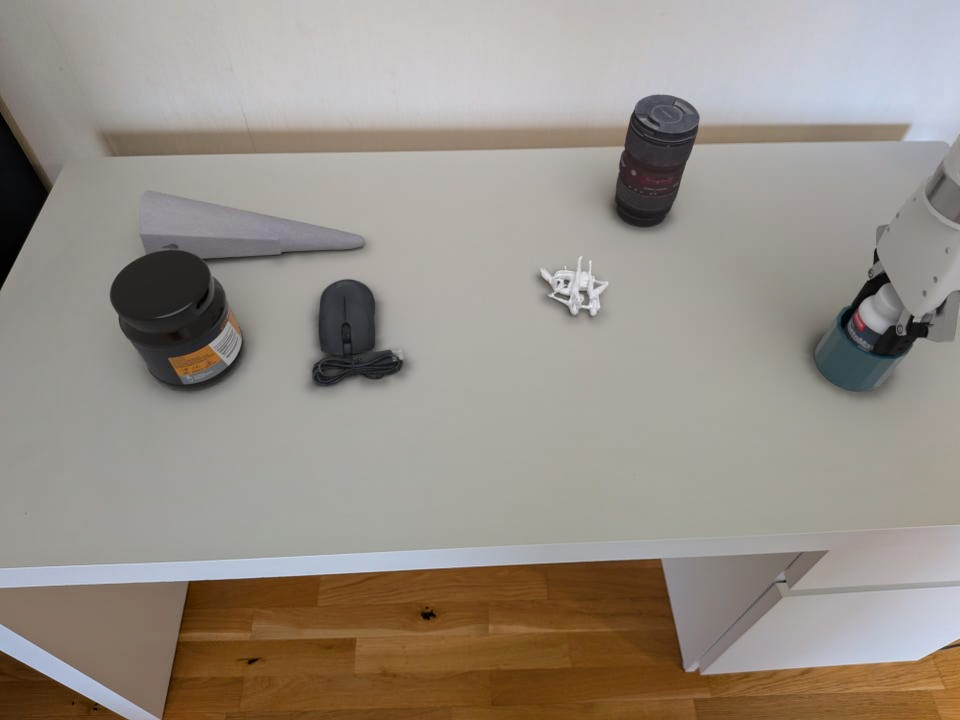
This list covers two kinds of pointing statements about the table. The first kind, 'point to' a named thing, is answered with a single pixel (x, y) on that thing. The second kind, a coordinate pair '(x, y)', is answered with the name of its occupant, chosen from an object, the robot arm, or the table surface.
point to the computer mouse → (350, 334)
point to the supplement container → (177, 319)
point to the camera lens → (654, 158)
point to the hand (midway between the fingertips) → (877, 328)
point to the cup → (852, 359)
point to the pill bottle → (874, 318)
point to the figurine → (576, 287)
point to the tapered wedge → (229, 230)
